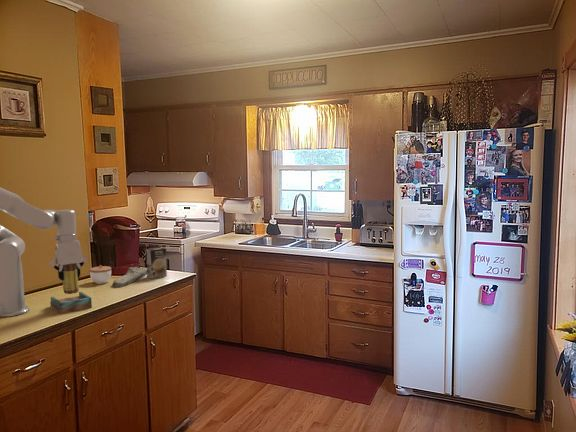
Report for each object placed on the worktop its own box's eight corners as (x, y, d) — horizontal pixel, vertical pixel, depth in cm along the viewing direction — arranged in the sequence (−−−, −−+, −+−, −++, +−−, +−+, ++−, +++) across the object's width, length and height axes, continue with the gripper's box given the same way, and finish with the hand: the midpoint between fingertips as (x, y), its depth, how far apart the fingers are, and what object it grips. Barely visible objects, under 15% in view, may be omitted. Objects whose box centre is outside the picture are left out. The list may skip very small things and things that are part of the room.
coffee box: (151, 279, 256) (150, 250, 254) (146, 276, 261) (145, 248, 259) (167, 276, 262) (166, 248, 260) (162, 274, 267) (161, 246, 265)
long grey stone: (107, 290, 239) (125, 291, 238) (107, 280, 238) (125, 281, 237) (135, 271, 274) (152, 272, 273) (135, 262, 273) (152, 263, 272)
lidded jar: (88, 285, 242) (87, 267, 241) (92, 280, 253) (91, 263, 252) (110, 284, 244) (109, 267, 243) (113, 279, 255) (112, 262, 254)
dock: (60, 313, 196) (59, 303, 195) (50, 306, 206) (50, 296, 206) (91, 307, 205) (91, 297, 204) (81, 300, 215) (80, 291, 214)
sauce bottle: (73, 289, 209) (71, 246, 207) (82, 291, 206) (79, 247, 204) (59, 293, 204) (57, 248, 202) (68, 295, 200) (66, 250, 198)
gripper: (48, 241, 194) (51, 283, 196) (90, 236, 205) (92, 276, 207) (43, 239, 199) (46, 280, 201) (84, 235, 211) (87, 274, 213)
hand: (69, 278), depth 204 cm, fingers closed on sauce bottle, 6 cm apart
